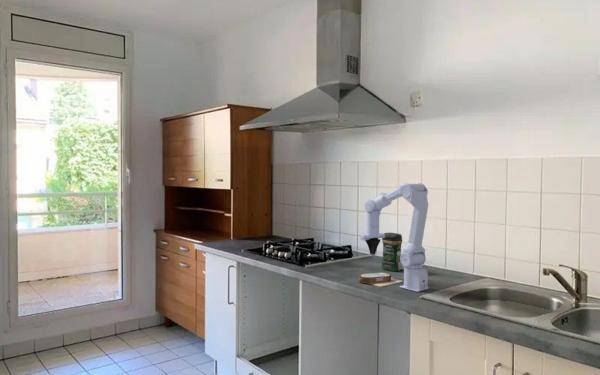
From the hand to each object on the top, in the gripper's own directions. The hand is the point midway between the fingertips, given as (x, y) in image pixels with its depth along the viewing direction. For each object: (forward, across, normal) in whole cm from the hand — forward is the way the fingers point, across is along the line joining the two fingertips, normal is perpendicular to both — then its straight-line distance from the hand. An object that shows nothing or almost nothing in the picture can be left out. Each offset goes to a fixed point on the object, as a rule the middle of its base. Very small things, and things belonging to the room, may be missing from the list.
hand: (372, 254), depth 203 cm
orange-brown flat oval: (+8, +5, +3) cm, 10 cm away
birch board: (+10, +4, +10) cm, 15 cm away
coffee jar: (+11, -19, -4) cm, 22 cm away
